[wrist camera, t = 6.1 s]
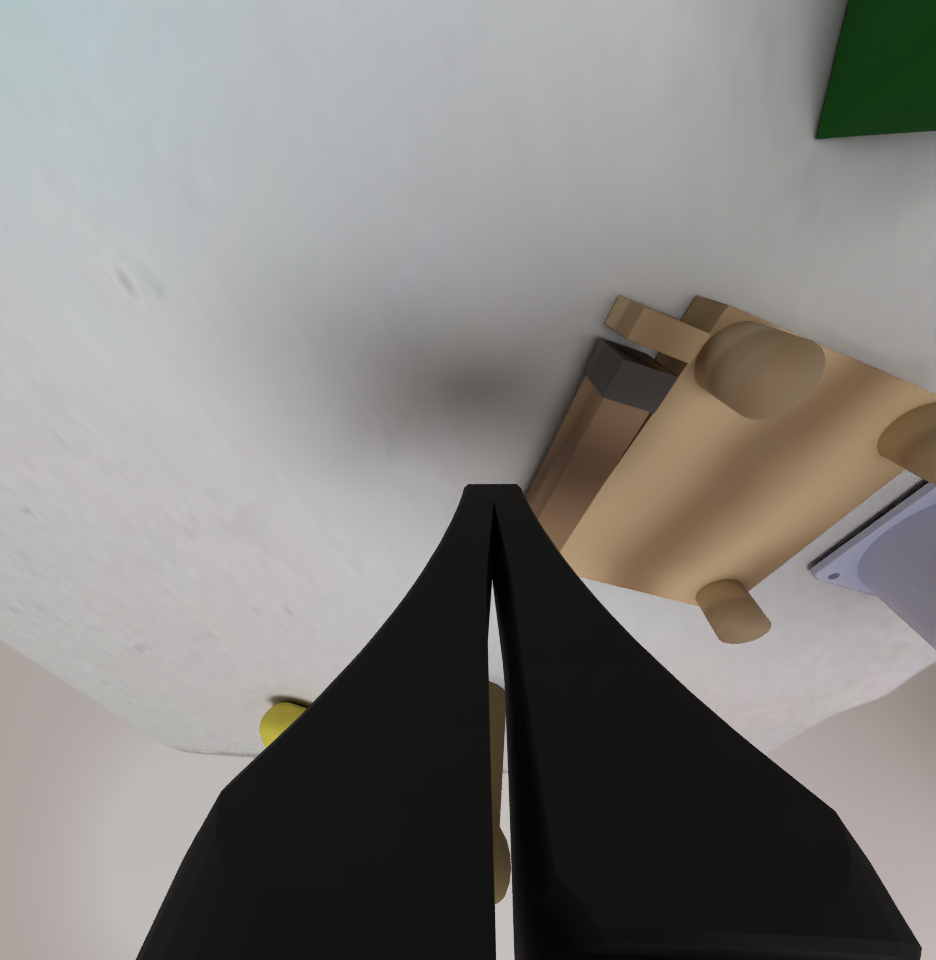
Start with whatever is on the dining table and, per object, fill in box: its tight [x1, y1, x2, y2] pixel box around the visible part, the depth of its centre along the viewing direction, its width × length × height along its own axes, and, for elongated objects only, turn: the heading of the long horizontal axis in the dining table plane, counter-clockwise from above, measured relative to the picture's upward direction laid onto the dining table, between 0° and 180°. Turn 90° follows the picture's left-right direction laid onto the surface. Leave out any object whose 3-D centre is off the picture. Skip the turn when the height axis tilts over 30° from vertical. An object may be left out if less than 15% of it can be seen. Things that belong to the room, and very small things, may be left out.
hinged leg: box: [525, 338, 678, 552], centre depth 14 cm, size 9×2×2 cm, turn 164°
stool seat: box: [560, 295, 936, 644], centre depth 14 cm, size 13×13×4 cm
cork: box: [489, 682, 511, 904], centre depth 24 cm, size 6×6×11 cm
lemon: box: [259, 702, 307, 748], centre depth 30 cm, size 4×8×4 cm, turn 38°
